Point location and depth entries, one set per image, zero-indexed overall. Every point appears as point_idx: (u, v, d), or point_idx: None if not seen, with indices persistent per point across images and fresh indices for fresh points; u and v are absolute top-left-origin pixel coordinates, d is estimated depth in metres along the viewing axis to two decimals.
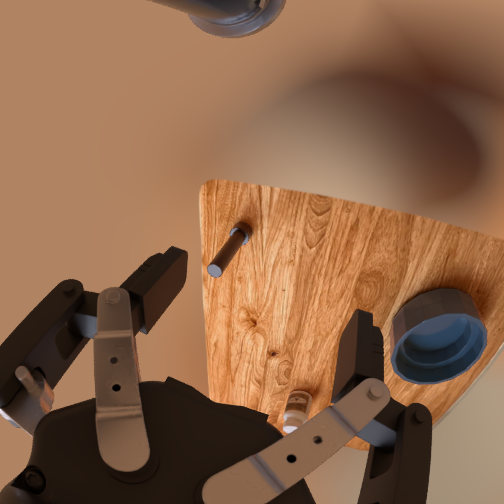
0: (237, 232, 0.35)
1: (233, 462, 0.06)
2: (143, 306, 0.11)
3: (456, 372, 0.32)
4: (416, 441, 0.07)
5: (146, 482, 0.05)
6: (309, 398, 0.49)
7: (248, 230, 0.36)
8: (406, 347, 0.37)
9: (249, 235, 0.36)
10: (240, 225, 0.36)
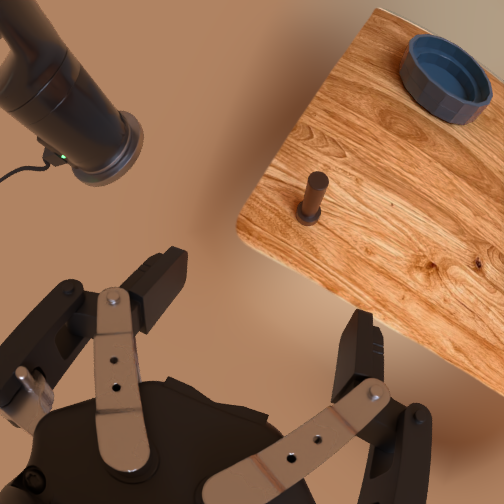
0: (301, 206, 0.29)
1: (233, 462, 0.06)
2: (143, 306, 0.11)
3: (476, 66, 0.27)
4: (416, 441, 0.07)
5: (146, 482, 0.05)
6: None
7: None
8: None
9: None
10: None
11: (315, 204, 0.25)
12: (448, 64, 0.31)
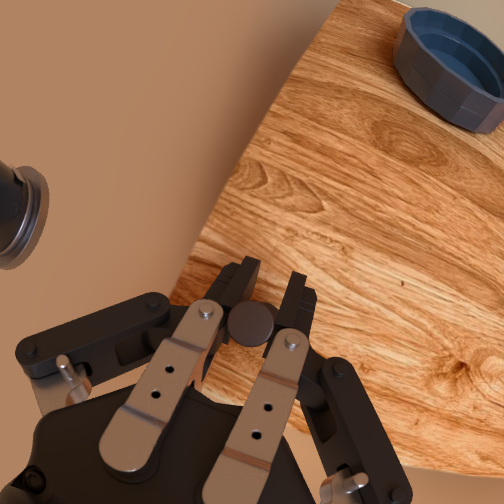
0: None
1: None
2: None
3: (494, 48, 0.17)
4: (349, 395, 0.08)
5: (146, 482, 0.05)
6: None
7: None
8: None
9: (267, 303, 0.18)
10: None
11: None
12: (456, 48, 0.21)
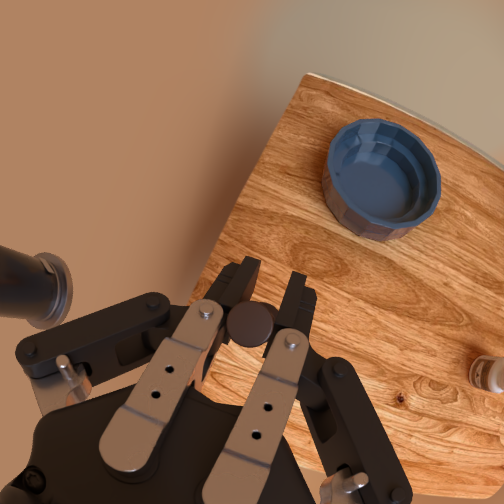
0: None
1: None
2: None
3: (423, 151, 0.30)
4: (349, 395, 0.08)
5: (146, 482, 0.05)
6: (481, 358, 0.27)
7: None
8: None
9: None
10: None
11: None
12: (388, 150, 0.33)
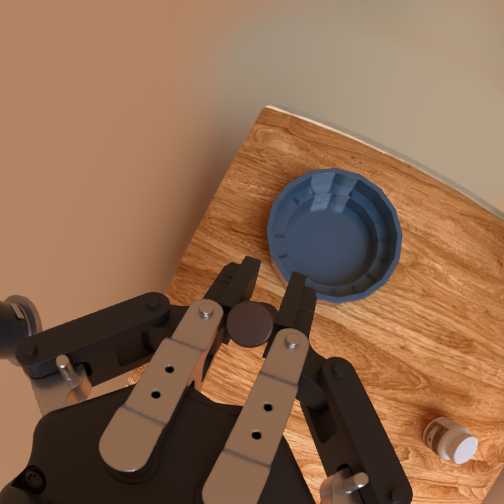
0: None
1: None
2: None
3: (385, 205, 0.29)
4: (349, 395, 0.08)
5: (146, 482, 0.05)
6: (437, 420, 0.26)
7: None
8: (351, 282, 0.31)
9: None
10: None
11: None
12: (347, 201, 0.32)
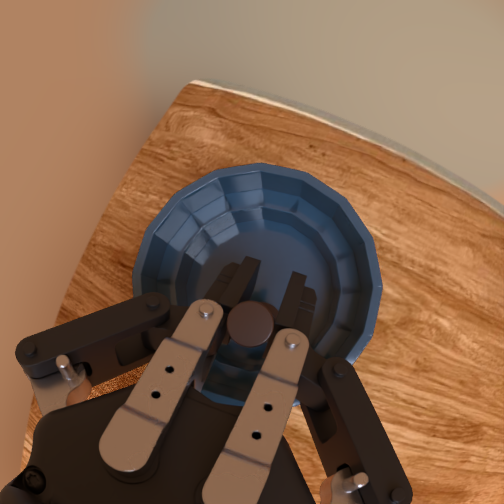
0: None
1: None
2: None
3: (353, 229, 0.16)
4: (349, 395, 0.08)
5: (146, 482, 0.05)
6: None
7: None
8: None
9: None
10: None
11: None
12: (290, 219, 0.20)
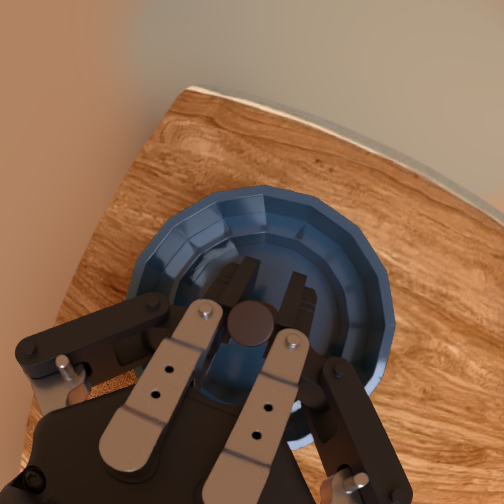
0: None
1: None
2: None
3: (365, 261, 0.14)
4: (349, 395, 0.08)
5: (146, 482, 0.05)
6: None
7: None
8: None
9: (266, 303, 0.18)
10: None
11: None
12: (295, 245, 0.18)
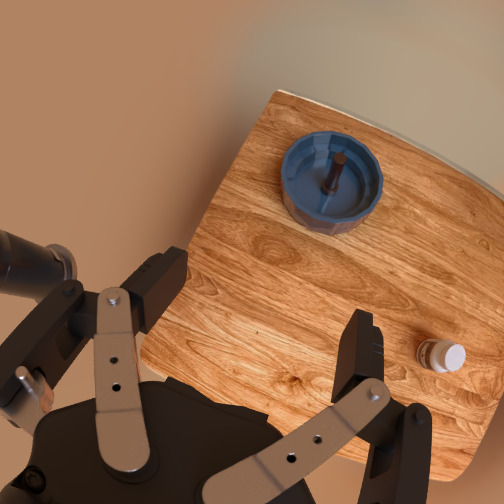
0: (325, 181, 0.40)
1: (233, 462, 0.06)
2: (143, 306, 0.11)
3: (369, 157, 0.38)
4: (416, 441, 0.07)
5: (146, 482, 0.05)
6: (427, 340, 0.35)
7: None
8: None
9: None
10: None
11: (337, 176, 0.36)
12: None
